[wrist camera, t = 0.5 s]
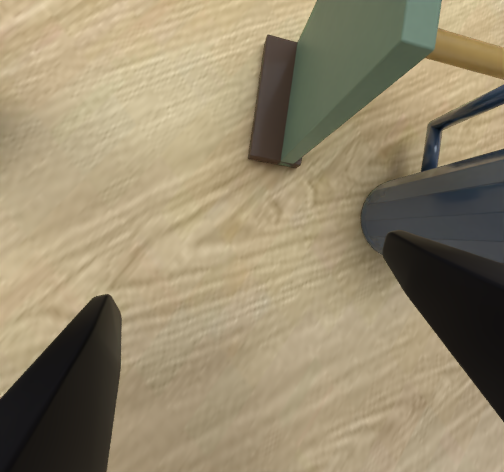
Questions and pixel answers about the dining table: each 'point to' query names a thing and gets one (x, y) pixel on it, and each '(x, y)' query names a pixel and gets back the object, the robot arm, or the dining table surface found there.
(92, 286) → the dining table surface
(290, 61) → the door
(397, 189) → the mug
